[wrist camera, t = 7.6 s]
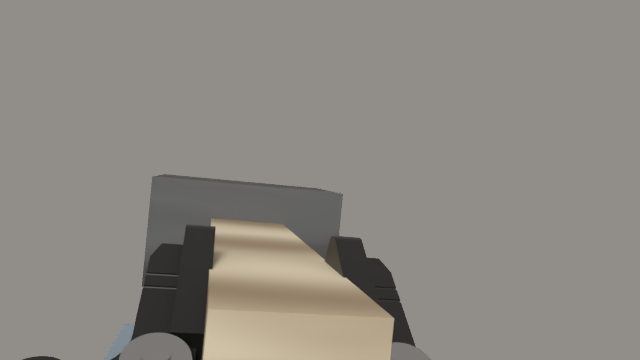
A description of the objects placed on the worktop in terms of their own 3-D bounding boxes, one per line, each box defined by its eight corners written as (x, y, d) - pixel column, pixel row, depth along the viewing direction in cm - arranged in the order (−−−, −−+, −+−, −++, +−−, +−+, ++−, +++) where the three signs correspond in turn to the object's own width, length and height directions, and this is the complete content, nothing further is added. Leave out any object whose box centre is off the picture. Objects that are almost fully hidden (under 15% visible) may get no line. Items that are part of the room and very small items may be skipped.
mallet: (515, 498, 10) (541, 238, 10) (13, 505, 8) (42, 197, 8) (309, 271, 30) (317, 188, 30) (156, 261, 29) (164, 174, 29)
